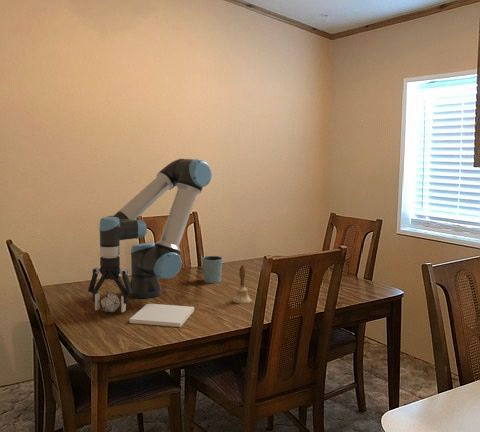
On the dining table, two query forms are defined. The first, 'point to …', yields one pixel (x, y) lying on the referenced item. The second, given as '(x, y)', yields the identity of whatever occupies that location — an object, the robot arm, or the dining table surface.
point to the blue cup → (212, 269)
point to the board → (162, 315)
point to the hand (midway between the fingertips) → (110, 310)
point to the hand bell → (242, 289)
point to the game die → (110, 302)
